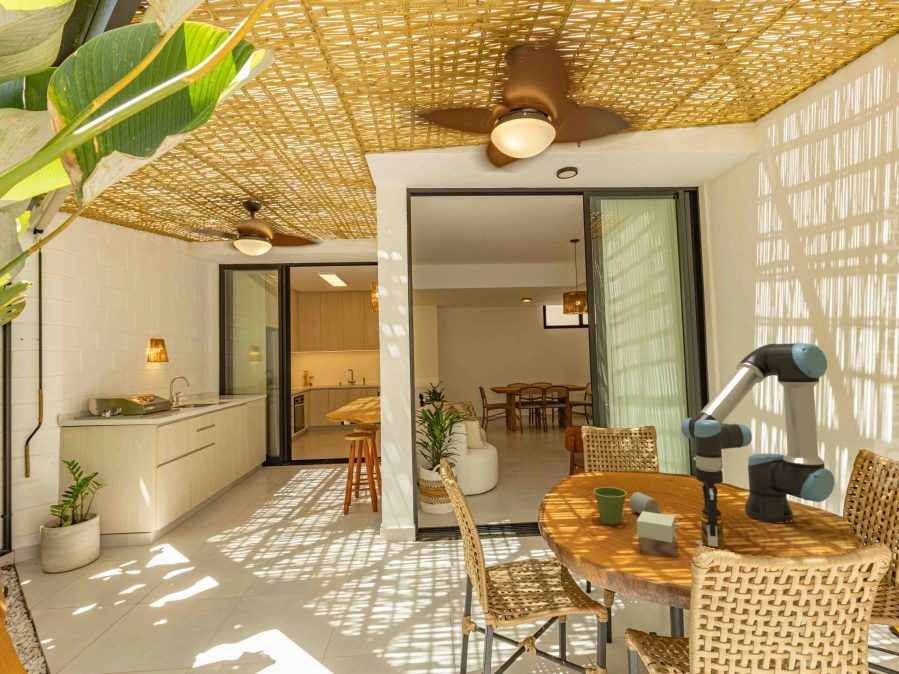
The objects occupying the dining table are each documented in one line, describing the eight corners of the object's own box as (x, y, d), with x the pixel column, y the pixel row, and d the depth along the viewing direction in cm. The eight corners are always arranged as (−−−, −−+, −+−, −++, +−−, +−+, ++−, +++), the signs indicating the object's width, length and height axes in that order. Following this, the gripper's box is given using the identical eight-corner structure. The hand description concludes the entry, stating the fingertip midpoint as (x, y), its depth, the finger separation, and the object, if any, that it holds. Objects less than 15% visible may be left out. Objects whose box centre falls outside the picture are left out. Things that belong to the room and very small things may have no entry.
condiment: (707, 552, 148) (705, 514, 148) (694, 541, 156) (692, 505, 156) (731, 552, 147) (729, 513, 148) (716, 541, 156) (714, 504, 156)
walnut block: (671, 544, 155) (670, 529, 155) (677, 557, 145) (677, 541, 145) (638, 542, 157) (638, 527, 158) (643, 555, 148) (642, 539, 148)
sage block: (675, 531, 153) (675, 516, 153) (671, 542, 145) (671, 526, 145) (643, 526, 159) (642, 511, 159) (637, 536, 150) (636, 520, 150)
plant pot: (587, 520, 177) (586, 490, 177) (608, 514, 183) (607, 485, 184) (613, 530, 167) (612, 498, 167) (634, 523, 173) (633, 492, 174)
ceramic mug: (646, 519, 177) (646, 498, 177) (629, 513, 184) (628, 493, 184) (665, 514, 182) (665, 494, 182) (647, 508, 189) (647, 489, 189)
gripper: (694, 461, 162) (696, 529, 161) (698, 475, 145) (700, 551, 144) (718, 463, 159) (721, 532, 158) (726, 477, 142) (729, 555, 141)
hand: (711, 541), depth 151 cm, fingers closed on condiment, 6 cm apart
